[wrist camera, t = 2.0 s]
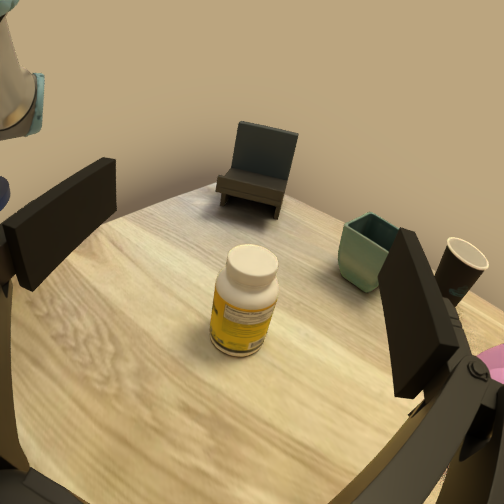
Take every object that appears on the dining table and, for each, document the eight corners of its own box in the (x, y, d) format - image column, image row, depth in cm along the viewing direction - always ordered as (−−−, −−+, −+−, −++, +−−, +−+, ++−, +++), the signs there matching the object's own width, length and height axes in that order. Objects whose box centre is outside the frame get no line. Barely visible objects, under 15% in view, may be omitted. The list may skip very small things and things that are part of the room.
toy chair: (211, 217, 56) (223, 134, 47) (229, 191, 66) (241, 120, 57) (274, 233, 55) (294, 149, 47) (281, 204, 65) (298, 133, 57)
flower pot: (370, 307, 44) (396, 257, 38) (323, 274, 48) (342, 223, 43) (393, 284, 49) (416, 238, 44) (352, 256, 54) (370, 210, 49)
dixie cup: (442, 330, 42) (480, 273, 35) (408, 298, 47) (439, 240, 41) (461, 313, 46) (494, 262, 39) (430, 285, 51) (458, 233, 45)
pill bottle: (218, 310, 38) (230, 232, 32) (268, 325, 38) (291, 249, 32) (201, 348, 33) (209, 268, 27) (257, 365, 33) (281, 289, 27)
